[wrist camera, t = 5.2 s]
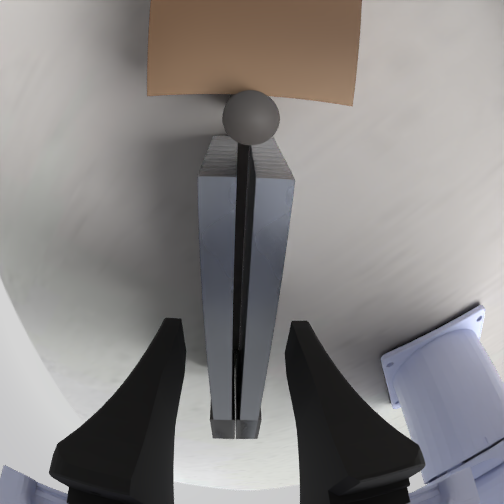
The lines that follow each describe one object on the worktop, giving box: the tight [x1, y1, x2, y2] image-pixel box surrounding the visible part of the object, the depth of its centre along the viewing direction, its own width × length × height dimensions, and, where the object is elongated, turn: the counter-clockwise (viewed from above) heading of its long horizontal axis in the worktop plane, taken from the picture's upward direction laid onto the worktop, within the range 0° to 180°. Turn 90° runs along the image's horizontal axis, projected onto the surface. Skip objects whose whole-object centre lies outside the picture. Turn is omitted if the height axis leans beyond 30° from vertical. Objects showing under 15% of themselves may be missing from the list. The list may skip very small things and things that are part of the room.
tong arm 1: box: [198, 136, 238, 439], centre depth 11 cm, size 13×1×4 cm, turn 177°
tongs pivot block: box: [147, 0, 362, 145], centre depth 6 cm, size 5×4×5 cm
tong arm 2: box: [235, 138, 295, 439], centre depth 11 cm, size 13×1×4 cm, turn 177°
